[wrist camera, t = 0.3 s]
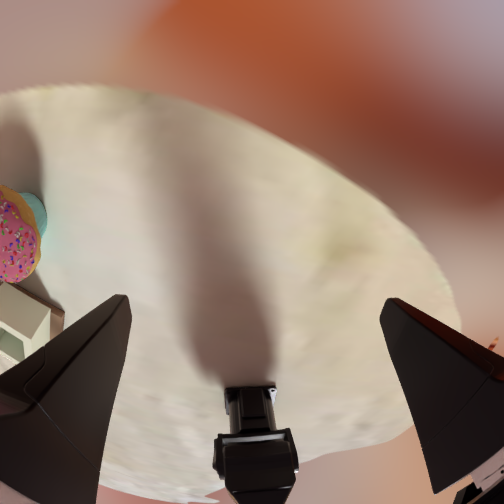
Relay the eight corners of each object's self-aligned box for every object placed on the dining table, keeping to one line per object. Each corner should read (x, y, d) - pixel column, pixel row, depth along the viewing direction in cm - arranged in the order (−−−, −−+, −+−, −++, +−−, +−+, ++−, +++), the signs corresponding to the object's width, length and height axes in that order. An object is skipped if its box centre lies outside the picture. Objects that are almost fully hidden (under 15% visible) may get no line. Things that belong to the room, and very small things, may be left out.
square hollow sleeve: (49, 346, 27) (34, 375, 22) (7, 321, 25) (-10, 347, 20) (50, 308, 24) (31, 339, 20) (4, 281, 22) (-19, 307, 18)
